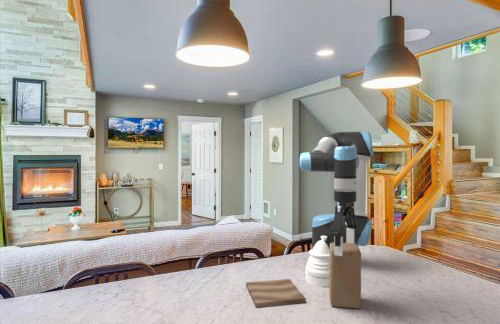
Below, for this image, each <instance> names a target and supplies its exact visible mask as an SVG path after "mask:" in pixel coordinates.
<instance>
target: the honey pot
mask: <svg viewBox="0 0 500 324" xmlns="http://www.w3.org/2000/svg"><path fill="white" fill-rule="evenodd" d="M321 239H322V240H320V241H318V242H317V243H316V244H315V246H314V247H313V249H312V248H311V249H310V250H309V251H308V254H309V255H310V257H309V256H308V258H309V259H307V262H306V265H305V271H304V272H305V273H304V274H305V275H304V277H305V281H306V283H308V284H309V285H311V286H314V287H321V288H322V287H323V288H328V287H329V275H330V249H329V247H328V245H327V244H326V243H325V242H324V241H326V239H327V236H321Z"/></svg>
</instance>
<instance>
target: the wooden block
mask: <svg viewBox="0 0 500 324" xmlns="http://www.w3.org/2000/svg"><path fill="white" fill-rule="evenodd" d="M328 294H329V304H330V306H332V307H338V308H345V309H346V308H348V309H360V308H361V303H362V295H361V294H362V251H361V249H360V246H358V245H357V244H354V243H343V256H337V255H334V242H332V243H330V275H329V293H328Z"/></svg>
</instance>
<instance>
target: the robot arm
mask: <svg viewBox="0 0 500 324" xmlns="http://www.w3.org/2000/svg"><path fill="white" fill-rule="evenodd" d="M372 156H374V149H373V141H372V134H371V132H369V131H337V132H333V133H330V134H327V135H326V136H323V137H322V138H320V140H319V142H318V144H317V146H316V147H314V149H313V150H312V151H311V152H309V151H307V152H302V153H300V156H299V168H300V170H301V171H302V172H309V173H310V172H311V173H312V172H321V173H324V172H325V173H334V176H333V177H334V178H333V189H334V192H333V200H334V202H337V203H338V205H335V207H334V209H335V210H334V214H333V213H328V214H327V213H325V214H319V215H316V216H314V217H313V218H312V225H311V243H312V244H311V249H313V247H314V246H315V244H316V243H317V242H318V241H320V240H322V239H321V236H327V239H326V241H324V242H325V243H326V244H327V245H328V247H329V249H330V243H332V242H334V255H337V256H343V243H354V244H357V245H358V247H366V246H368V245H369V243H370V238H371V233H372V225H373V221H372V220H370V217H369V215H368V214H367V213H366V211H367V210H366V204H367V203H366V201H367V199H366V198H367V167H368V165H367V164H368V163H367V162H369V161H370V160H371V157H372ZM309 257H310V254H309V255H308V259H309ZM308 259H307V260H308Z"/></svg>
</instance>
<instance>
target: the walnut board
mask: <svg viewBox="0 0 500 324" xmlns="http://www.w3.org/2000/svg"><path fill="white" fill-rule="evenodd" d="M245 287H246V290H247V292H248V294H249V296H250V298H251V300H252V302H253V304H254V306H255V308H263V307H274V306H284V305H285V306H286V305H294V304H304V303H306V301H307V299H306V297H305V296H304V294H302V292H301V291H300V290H299V289H298V287H297V286H296V285H295V284H294V282H293V281H292V280H291V279H290V278H284V279H274V280H273V279H271V280H261V281H259V280H258V281H249V282H245Z"/></svg>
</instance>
